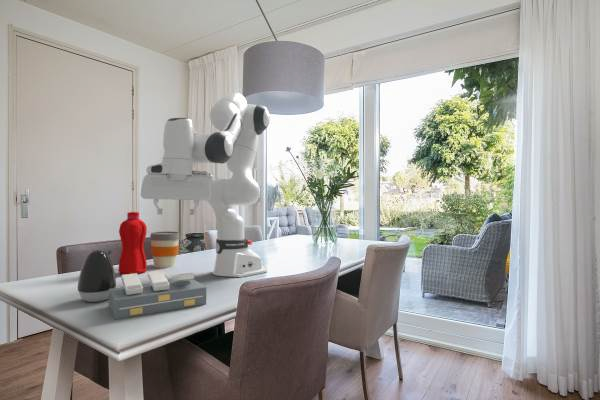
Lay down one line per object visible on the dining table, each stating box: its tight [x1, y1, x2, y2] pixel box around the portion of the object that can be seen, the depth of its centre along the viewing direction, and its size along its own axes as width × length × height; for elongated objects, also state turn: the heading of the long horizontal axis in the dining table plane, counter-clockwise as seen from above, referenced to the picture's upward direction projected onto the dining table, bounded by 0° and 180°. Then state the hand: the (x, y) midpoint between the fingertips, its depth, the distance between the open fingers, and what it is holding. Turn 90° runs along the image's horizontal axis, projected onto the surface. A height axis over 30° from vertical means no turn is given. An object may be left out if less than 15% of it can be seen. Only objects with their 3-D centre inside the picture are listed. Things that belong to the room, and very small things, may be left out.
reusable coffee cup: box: [149, 231, 181, 269], centre depth 158 cm, size 13×12×15 cm
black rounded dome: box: [77, 249, 117, 303], centre depth 107 cm, size 10×10×15 cm
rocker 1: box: [121, 273, 143, 295], centre depth 98 cm, size 4×9×2 cm, turn 35°
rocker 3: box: [171, 272, 195, 282], centre depth 106 cm, size 4×9×2 cm, turn 35°
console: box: [108, 278, 207, 320], centre depth 102 cm, size 24×13×6 cm, turn 125°
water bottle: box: [118, 211, 148, 275], centre depth 144 cm, size 9×11×25 cm
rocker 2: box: [147, 270, 170, 291], centre depth 102 cm, size 4×9×2 cm, turn 35°
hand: (176, 214), depth 108 cm, fingers open, 8 cm apart
